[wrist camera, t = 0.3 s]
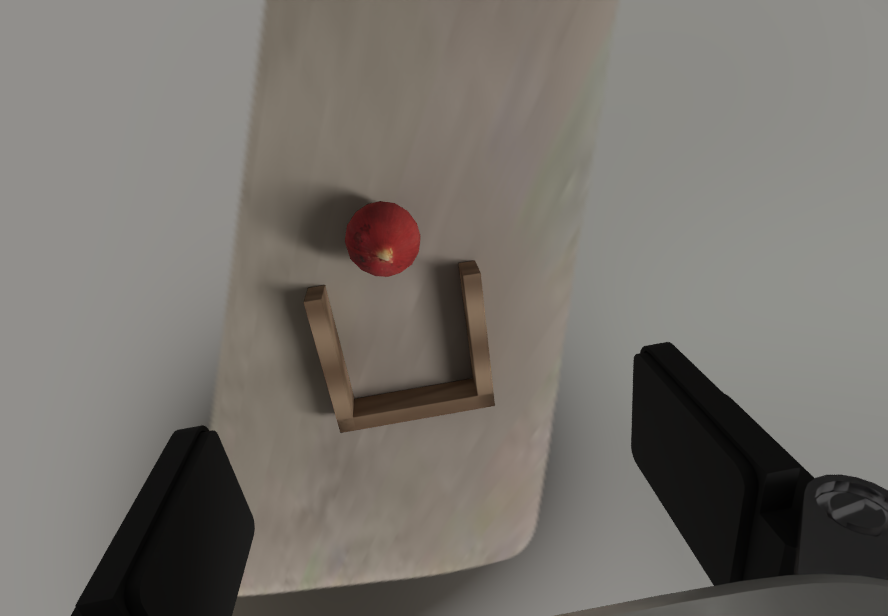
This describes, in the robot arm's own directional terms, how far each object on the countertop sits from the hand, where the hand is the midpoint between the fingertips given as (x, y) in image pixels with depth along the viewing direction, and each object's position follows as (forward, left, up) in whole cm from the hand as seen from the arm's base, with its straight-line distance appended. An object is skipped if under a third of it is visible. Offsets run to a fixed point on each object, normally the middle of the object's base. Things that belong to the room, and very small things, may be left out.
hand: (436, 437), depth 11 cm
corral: (+16, -2, -34) cm, 38 cm away
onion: (+5, -2, -34) cm, 34 cm away
